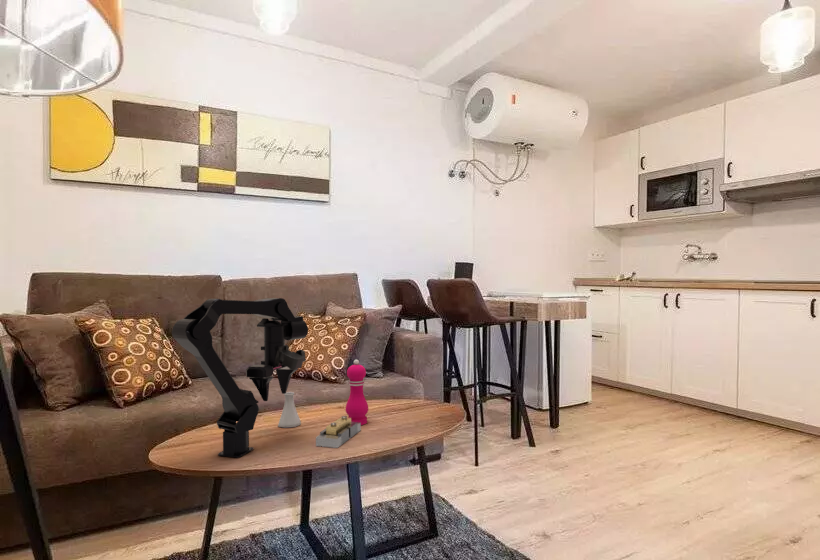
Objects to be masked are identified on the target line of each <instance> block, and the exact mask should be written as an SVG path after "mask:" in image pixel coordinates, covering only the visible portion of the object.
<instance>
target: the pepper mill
mask: <svg viewBox="0 0 820 560" xmlns="http://www.w3.org/2000/svg"><path fill="white" fill-rule="evenodd" d="M346 375H347V378H348V379H349V380H348V385H349V388H350V391H349V397H348V399H347V401H346V403H345V414H346V415H347V417H348V418H351V422H361V426H363V425H366V424H367V423H368V417H367V413H368V412H369V404H368V401H367V400H366V397H365V395H364V394H365V393H364V385H365V384H366V383H365V379H364V378H365V377H366V375H367V371H366V368H365V367H364V366H363V365H362V364H360V361H359V359H354V361H353V364H352V365H350V366H349V367H347V371H346Z"/></svg>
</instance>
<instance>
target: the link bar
mask: <svg viewBox="0 0 820 560" xmlns="http://www.w3.org/2000/svg"><path fill="white" fill-rule="evenodd" d="M348 417H349V416H348V415H342V416H341V417H340V418H338V419H337V420H335V421H332V422H330V424H328V425H326V427H325V429H326V435H333V436H338V433H340V432H341V431H343V430H344V429H345V428H347V427H348V426H350V425H351V418H348Z"/></svg>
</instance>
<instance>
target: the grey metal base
mask: <svg viewBox="0 0 820 560" xmlns="http://www.w3.org/2000/svg"><path fill="white" fill-rule="evenodd" d="M361 427H362V425H361V422H351V425H350V426H348V427H347V428H345V429H344V430H343V431H341V432H340V433H338V436H333V435H326V428H325V429H322V430H321V431H320V432H319V434H318V435H317V436H316V437H315V447H321V446H322V448H334V449H338V448H339V447H341V446H342V445H343V444H344V443H346V442H348V441H349V440H350V439H352V438H353V437H354V436H355V435H357V434H358V433H360V432H361V431H362V430H361V429H362V428H361Z"/></svg>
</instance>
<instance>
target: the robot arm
mask: <svg viewBox="0 0 820 560" xmlns="http://www.w3.org/2000/svg"><path fill="white" fill-rule="evenodd" d="M222 315H252V316H253V315H254V316H256V317H260V318H261V320H260V321H259V322H258V323H257V324H256V327H258V328H263V345H261V346H260V351H263V360H261V361H260V364H258V363H257V364H254V365H250V366H248V367H247V368H246V370H245V375H246V377H245V378H248V380H251V382H252V383H253V384H254V386H255V388H256V389H257V391H258V394H259V395H260V397H261V398H262V401H264V402H268V399H269V394H270V393H269V390H270V383H271V380H273V378H274V376H273V374H274V371H276V372H275V373H276V376H277V379H278V383H279V387H280V391H281V394H282V395H284V394H286V392H288V387H289V384H290V381H291V377H292V375H293V374H294V373H295V372H296V371H298V369H301V368H302V367H303V363H305V362H306V360H307V359H306V351H305V350H303V349H297V350H296V351H292V350H290V347H289V344H285V343H286V341H294V340H303V339H305V338H306V337H307V335H308V334H309V326H308V324H307V323H306V321H304V316H303V315H300V316H299V315H297V316H296V315H294V314H293V312H292V310H291V309H290V307H289V306H288V302H287V301H286V299H285V298H282V297H266V298H260V299H255V300H235V299H234V300H233V299H221V298H209V299H208V298H207V300H206V299H205V300H204V301H203V303H202V304H200V306H197V308H195V309H194V310H192V311H191V312H189V313H187V314H186V315H185V316H184V318H180V319H179V320H177V321H176V322H175V323H174V324H173V326H172V330H171V335H172V338H173V339H174V340H175V341H176V342H177V343H178V344H179V345H180V346H181V347H182V348H183V349H185V351H187V352H189V353H190V354H192V355H193V356H194V358H195V359H196V361H197V362H198V363H199V365H200V366H201V369H202V370H203V371H204V372H205V374H206V376H207V378H209V380H210V381H211V383H212V385H213V386H214V387H215V389H216V390H217V392H218V393H219V395H220V396H221V401H222V402H221V405H222V409H223V412H222V413H221V415H220V417H219V418H218V419H217V420H216V424H217V428H218V429H219V430H223V432H222V451H220V452H218V453H217V456H219V457H220V456H221V457H228V458H241V457H243V456H245V455H247V454H248V453H250V452H252V451H254V447H252V446H250V431H252V430H254V427H255V423H256V420H257V417H258V414H259V411H260V407H259V405H258V403H259V400H257V399H256V398H255V395H254V393H253V391H252V390H248V389H244V388H240V387H239V386H238V384H237V382H236V381H235V379H234V378H233V376H232V374H231V373H230V372H229V370H228V368H227V367H226V366H225V364H224V362H223V361H222V359H221V357H220V356H219V354H218V353H217V351H216V350H215V348H214V346H213V335H212V333H211V331H212V330H213V328H215V326H216V325H217V323H218V321H219V319H220V317H221V316H222Z"/></svg>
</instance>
